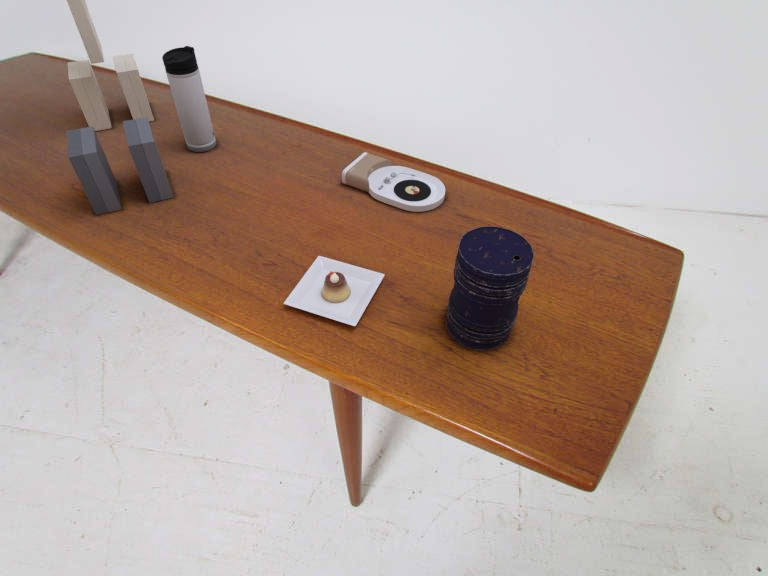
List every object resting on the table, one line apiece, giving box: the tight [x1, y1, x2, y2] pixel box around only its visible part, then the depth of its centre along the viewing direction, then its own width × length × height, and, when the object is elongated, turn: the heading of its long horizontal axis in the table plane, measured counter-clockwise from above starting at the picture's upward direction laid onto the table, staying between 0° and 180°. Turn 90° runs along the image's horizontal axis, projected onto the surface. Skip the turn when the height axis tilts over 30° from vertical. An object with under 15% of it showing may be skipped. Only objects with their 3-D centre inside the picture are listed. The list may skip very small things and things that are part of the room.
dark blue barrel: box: [445, 225, 535, 351], centre depth 70 cm, size 10×10×15 cm
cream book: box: [66, 0, 105, 65], centre depth 99 cm, size 2×10×19 cm, turn 25°
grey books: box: [66, 117, 174, 216], centre depth 93 cm, size 14×10×12 cm
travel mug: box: [161, 45, 217, 153], centre depth 103 cm, size 6×7×20 cm
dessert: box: [283, 255, 386, 327], centre depth 77 cm, size 12×12×5 cm
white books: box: [67, 53, 155, 132], centre depth 115 cm, size 14×10×12 cm
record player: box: [341, 151, 446, 213], centre depth 99 cm, size 12×3×20 cm
